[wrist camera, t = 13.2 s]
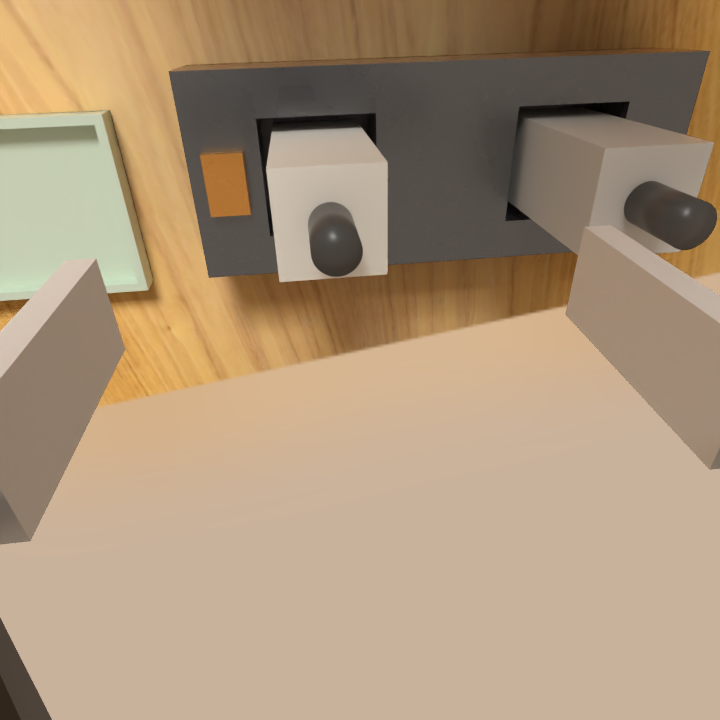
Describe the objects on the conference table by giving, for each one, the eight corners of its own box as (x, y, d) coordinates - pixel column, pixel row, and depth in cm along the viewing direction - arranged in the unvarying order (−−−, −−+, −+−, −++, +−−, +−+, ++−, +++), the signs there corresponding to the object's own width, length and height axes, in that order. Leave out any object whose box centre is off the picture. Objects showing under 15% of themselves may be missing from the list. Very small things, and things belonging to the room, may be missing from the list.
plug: (272, 123, 28) (263, 189, 17) (355, 119, 29) (402, 181, 17) (281, 206, 31) (278, 315, 19) (357, 201, 31) (400, 306, 19)
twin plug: (505, 110, 30) (650, 165, 18) (582, 107, 30) (774, 158, 18) (496, 192, 32) (619, 287, 20) (567, 188, 32) (728, 279, 21)
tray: (-148, 121, 27) (-169, 126, 26) (109, 110, 29) (101, 114, 27) (-60, 295, 33) (-74, 306, 32) (153, 280, 34) (148, 290, 33)
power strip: (186, 65, 28) (166, 72, 23) (651, 47, 30) (718, 51, 25) (219, 246, 33) (207, 281, 29) (610, 220, 35) (660, 249, 31)
